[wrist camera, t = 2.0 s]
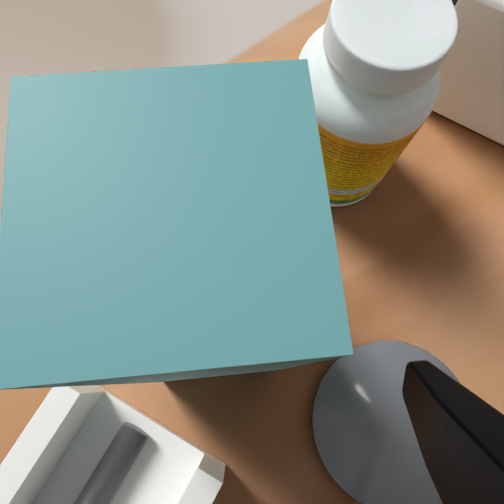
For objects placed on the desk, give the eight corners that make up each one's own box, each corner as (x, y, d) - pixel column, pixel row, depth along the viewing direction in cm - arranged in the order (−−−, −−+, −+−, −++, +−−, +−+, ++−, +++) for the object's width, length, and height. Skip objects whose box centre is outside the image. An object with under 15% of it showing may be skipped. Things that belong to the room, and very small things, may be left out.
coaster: (434, 546, 18) (438, 550, 17) (283, 455, 19) (284, 457, 18) (493, 390, 20) (498, 390, 19) (354, 313, 20) (356, 312, 20)
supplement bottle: (263, 136, 23) (279, -27, 14) (353, 104, 24) (427, -72, 14) (305, 226, 22) (355, 112, 12) (400, 189, 22) (514, 55, 13)
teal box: (274, 370, 20) (353, 354, 6) (163, 381, 19) (-11, 389, 6) (263, 264, 21) (307, 59, 7) (159, 272, 21) (11, 76, 7)
